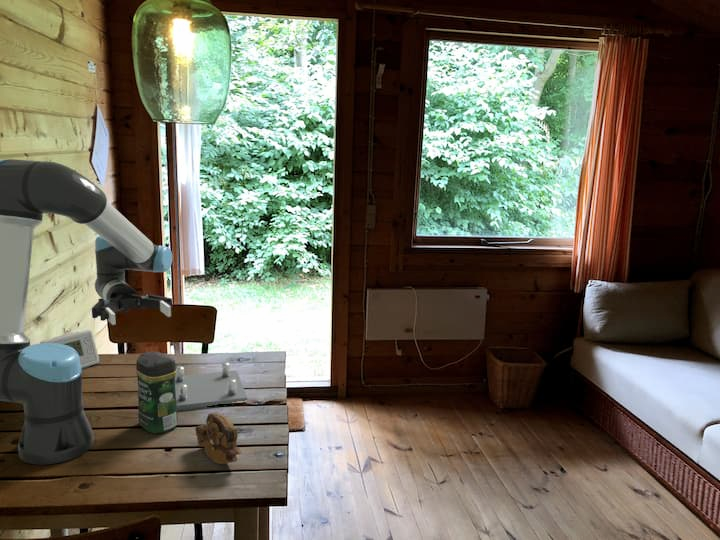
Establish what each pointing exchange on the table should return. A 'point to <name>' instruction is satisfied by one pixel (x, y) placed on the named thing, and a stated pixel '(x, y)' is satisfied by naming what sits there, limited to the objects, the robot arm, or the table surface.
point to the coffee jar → (156, 392)
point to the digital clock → (80, 346)
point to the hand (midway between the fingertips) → (142, 315)
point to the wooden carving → (218, 439)
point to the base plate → (207, 388)
